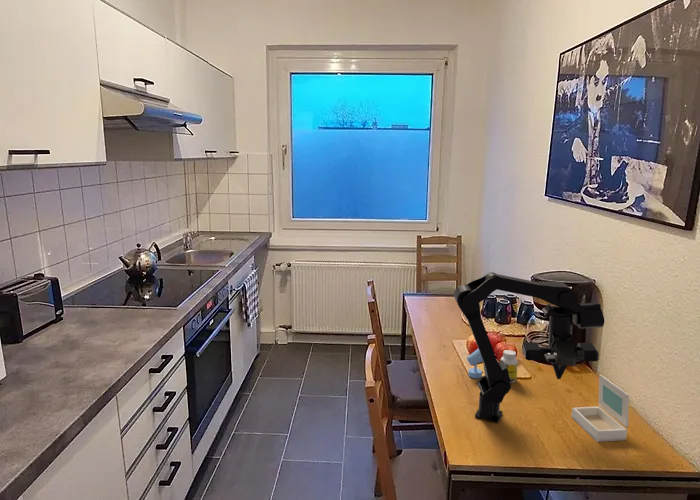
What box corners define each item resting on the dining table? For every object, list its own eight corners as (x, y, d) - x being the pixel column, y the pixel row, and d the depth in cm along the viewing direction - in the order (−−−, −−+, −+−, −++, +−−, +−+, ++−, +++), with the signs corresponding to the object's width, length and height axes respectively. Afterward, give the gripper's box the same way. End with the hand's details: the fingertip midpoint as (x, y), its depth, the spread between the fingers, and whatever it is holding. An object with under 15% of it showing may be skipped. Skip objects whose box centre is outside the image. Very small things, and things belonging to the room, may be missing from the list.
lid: (626, 395, 121) (629, 394, 122) (598, 374, 133) (601, 374, 133) (625, 428, 123) (628, 427, 123) (598, 405, 135) (600, 404, 135)
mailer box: (596, 441, 123) (597, 431, 123) (571, 417, 135) (572, 407, 134) (625, 440, 124) (627, 429, 123) (598, 416, 136) (599, 406, 135)
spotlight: (482, 371, 164) (463, 372, 163) (484, 344, 162) (465, 345, 161) (489, 377, 159) (469, 379, 158) (490, 349, 158) (471, 351, 156)
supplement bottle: (497, 381, 157) (499, 353, 155) (500, 374, 162) (502, 347, 160) (514, 384, 154) (516, 356, 153) (517, 378, 159) (519, 350, 157)
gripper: (529, 341, 124) (528, 393, 128) (607, 342, 120) (603, 395, 125) (522, 323, 134) (522, 372, 139) (593, 323, 131) (590, 373, 135)
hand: (558, 378), depth 134 cm, fingers closed
